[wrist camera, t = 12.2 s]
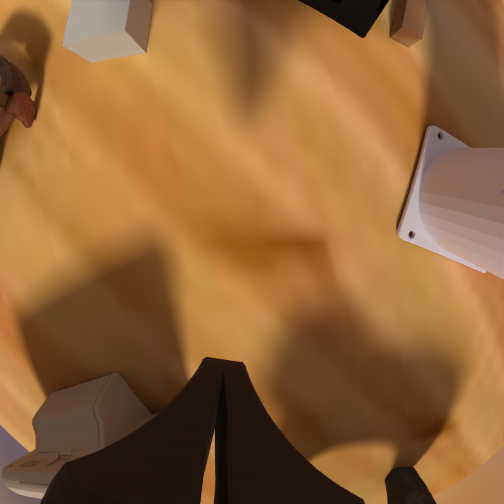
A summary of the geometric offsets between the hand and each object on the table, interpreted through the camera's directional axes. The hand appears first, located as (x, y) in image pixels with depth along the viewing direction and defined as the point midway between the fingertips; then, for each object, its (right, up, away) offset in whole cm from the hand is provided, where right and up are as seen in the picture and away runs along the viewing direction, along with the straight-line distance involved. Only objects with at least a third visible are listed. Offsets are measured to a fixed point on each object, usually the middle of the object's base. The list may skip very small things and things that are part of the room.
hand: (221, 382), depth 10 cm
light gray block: (-7, +19, +5) cm, 21 cm away
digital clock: (-11, -10, +13) cm, 20 cm away
